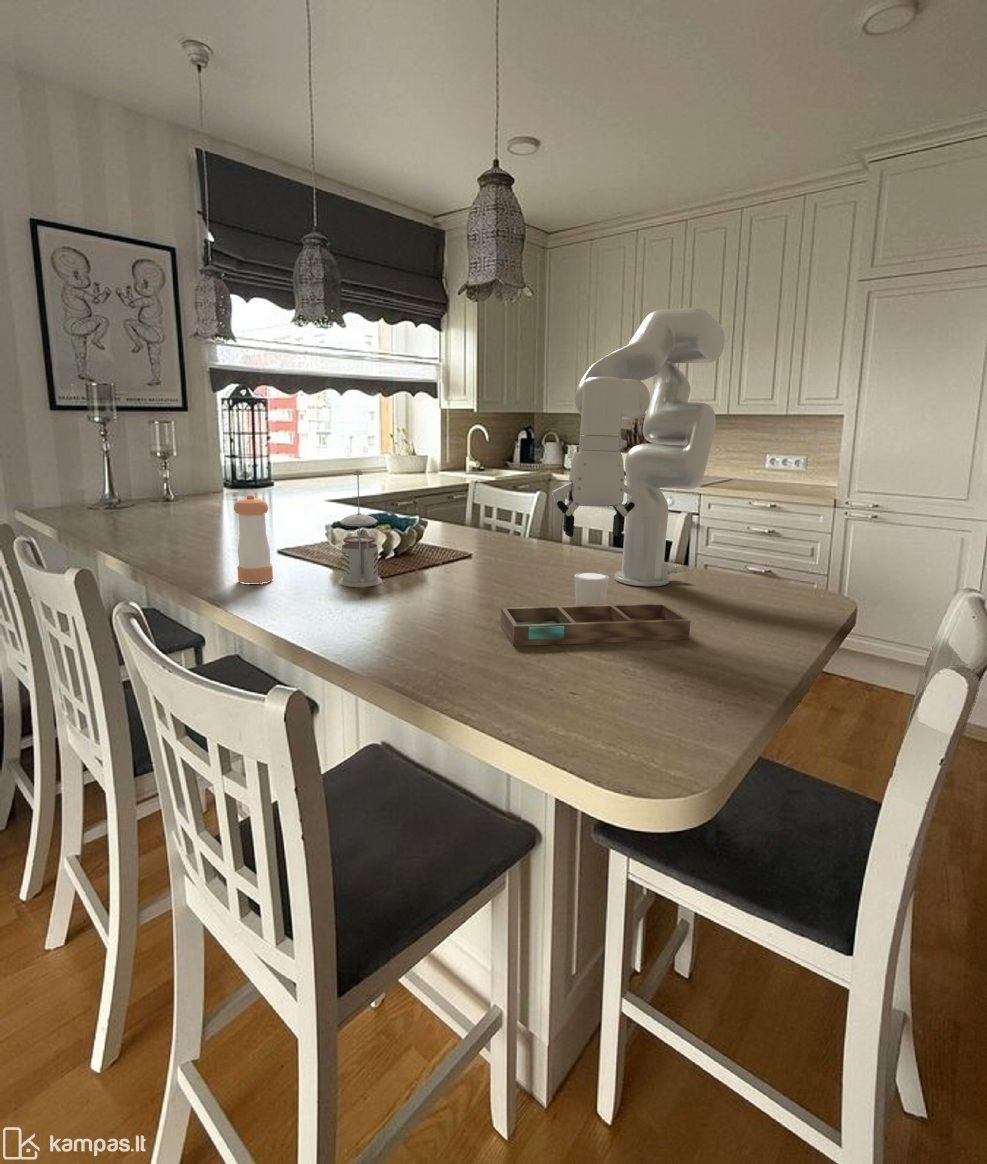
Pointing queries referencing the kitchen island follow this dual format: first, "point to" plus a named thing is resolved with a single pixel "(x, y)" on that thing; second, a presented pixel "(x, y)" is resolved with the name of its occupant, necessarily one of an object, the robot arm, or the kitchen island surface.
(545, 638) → the rack
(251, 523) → the pepper shaker
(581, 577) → the white cup
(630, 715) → the kitchen island surface
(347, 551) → the french press
